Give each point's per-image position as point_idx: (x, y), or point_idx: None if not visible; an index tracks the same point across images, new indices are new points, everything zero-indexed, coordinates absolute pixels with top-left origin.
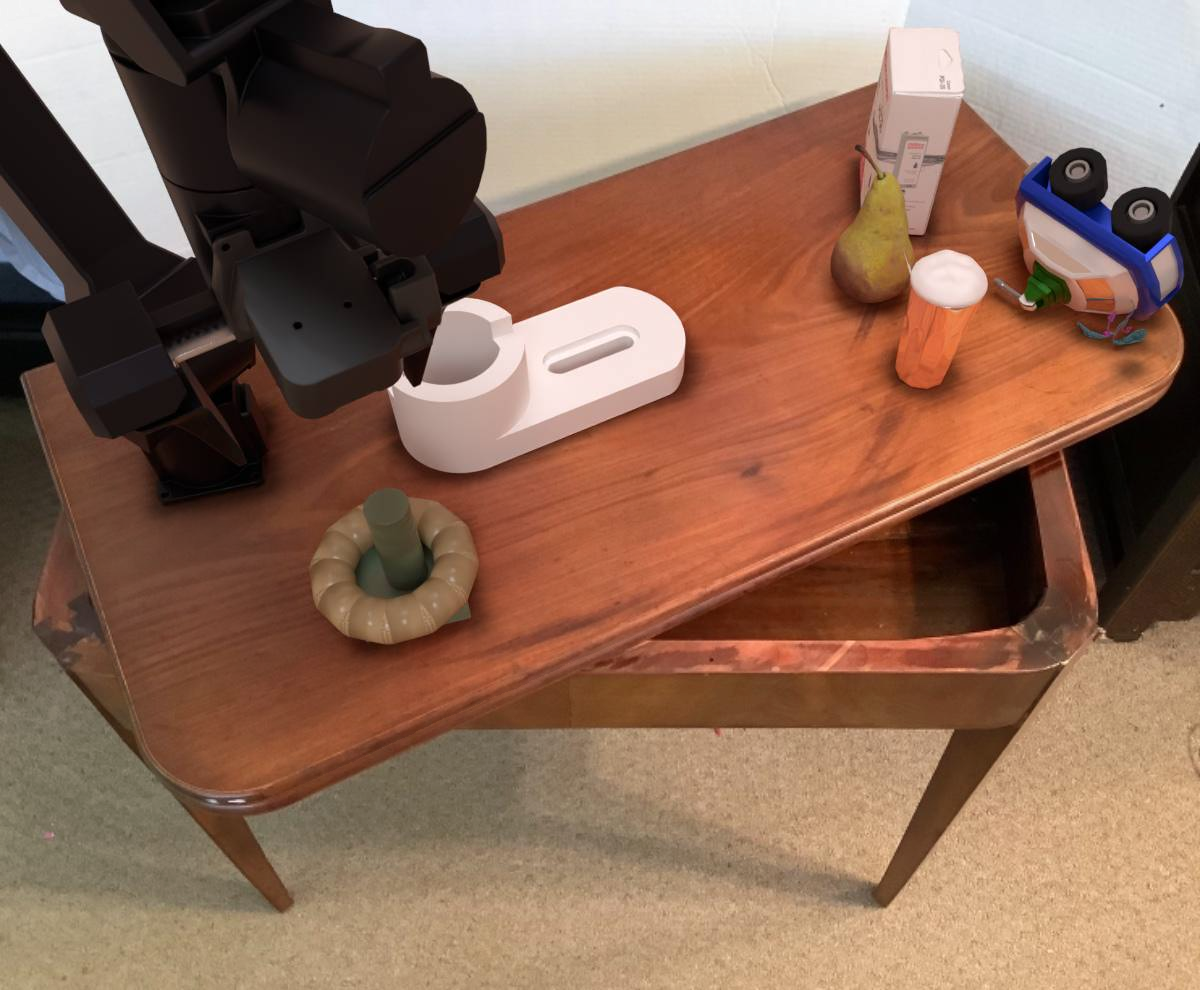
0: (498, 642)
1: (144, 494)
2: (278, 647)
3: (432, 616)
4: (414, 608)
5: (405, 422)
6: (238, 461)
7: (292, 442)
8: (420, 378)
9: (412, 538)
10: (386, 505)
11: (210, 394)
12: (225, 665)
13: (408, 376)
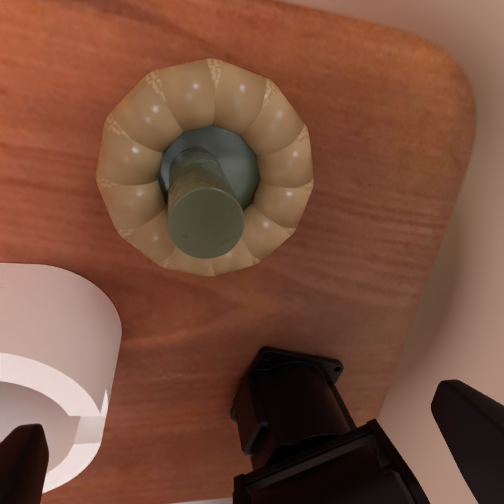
0: (133, 23)
1: (344, 375)
2: (340, 179)
3: (207, 64)
4: (225, 88)
5: (107, 353)
6: (470, 391)
7: (219, 375)
8: (2, 448)
9: (184, 174)
10: (205, 224)
11: (316, 471)
12: (386, 189)
13: (37, 459)
